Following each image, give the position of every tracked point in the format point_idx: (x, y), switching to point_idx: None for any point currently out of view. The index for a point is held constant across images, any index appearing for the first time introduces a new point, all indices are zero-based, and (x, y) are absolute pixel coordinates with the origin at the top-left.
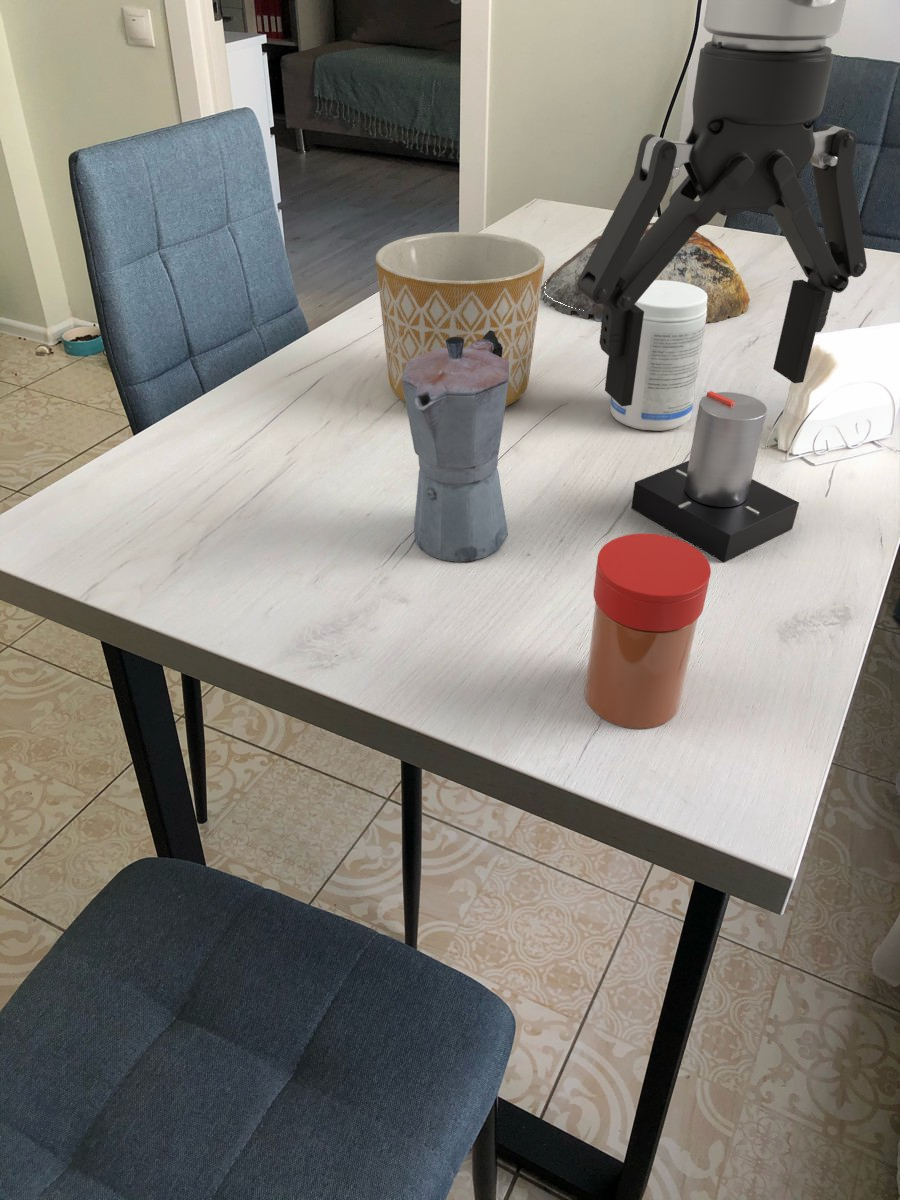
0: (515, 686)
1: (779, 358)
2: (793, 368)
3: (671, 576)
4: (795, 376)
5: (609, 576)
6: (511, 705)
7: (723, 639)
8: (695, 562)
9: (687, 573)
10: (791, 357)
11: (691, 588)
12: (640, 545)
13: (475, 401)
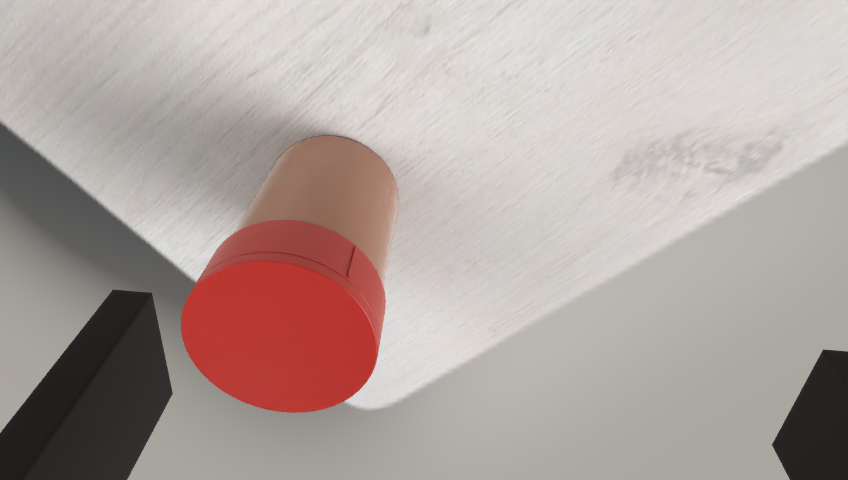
0: (179, 121)
1: (839, 405)
2: (802, 466)
3: (291, 377)
4: (783, 463)
5: (188, 347)
6: (165, 153)
7: (532, 141)
8: (351, 363)
9: (321, 380)
10: (828, 477)
11: (307, 407)
12: (278, 297)
13: None
